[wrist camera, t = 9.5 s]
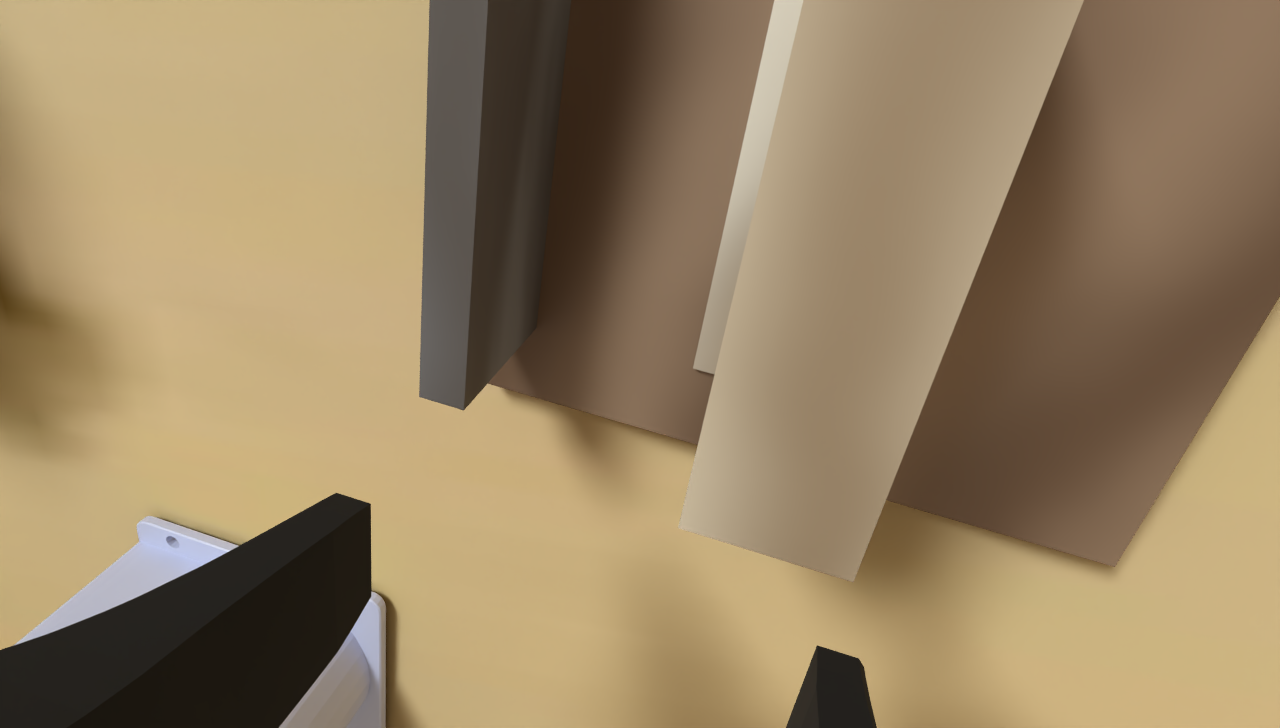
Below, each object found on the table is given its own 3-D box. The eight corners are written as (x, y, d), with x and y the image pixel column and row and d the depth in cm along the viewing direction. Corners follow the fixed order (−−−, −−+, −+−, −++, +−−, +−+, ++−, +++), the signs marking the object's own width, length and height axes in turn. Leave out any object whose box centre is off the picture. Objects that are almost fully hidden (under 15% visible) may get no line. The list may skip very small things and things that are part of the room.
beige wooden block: (737, 365, 19) (678, 527, 14) (863, -133, 14) (840, -159, 9) (867, 401, 19) (853, 582, 14) (1044, -101, 14) (1127, -109, 9)
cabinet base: (491, 362, 23) (396, 466, 18) (551, -421, 15) (407, -559, 10) (1105, 539, 20) (1159, 706, 16) (1591, -286, 12) (1967, -396, 8)
